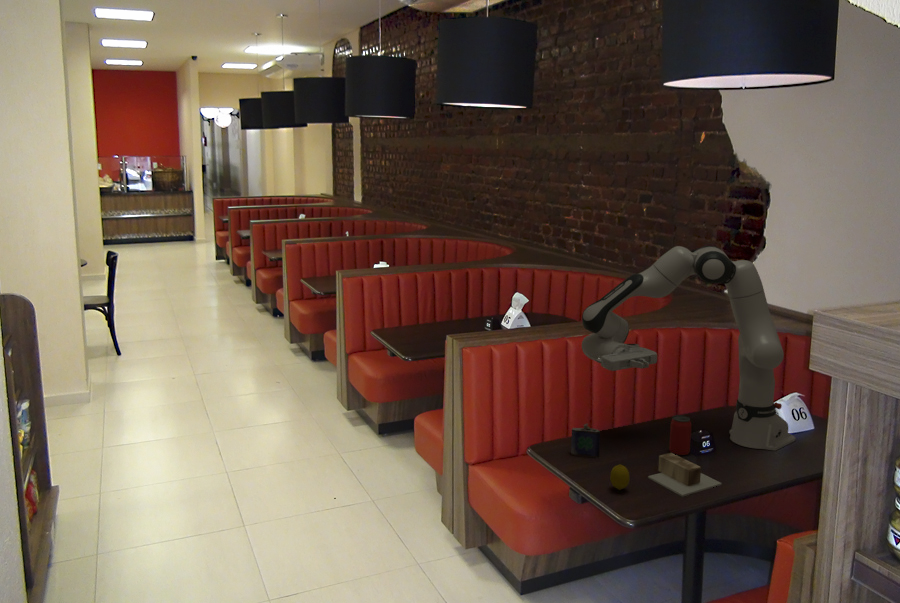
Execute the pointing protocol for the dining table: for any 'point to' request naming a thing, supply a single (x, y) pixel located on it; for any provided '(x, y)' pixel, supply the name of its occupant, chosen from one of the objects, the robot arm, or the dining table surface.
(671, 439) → the beer can
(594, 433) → the flask
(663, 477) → the grey mat
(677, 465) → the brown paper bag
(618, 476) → the lemon
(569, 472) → the dining table surface
